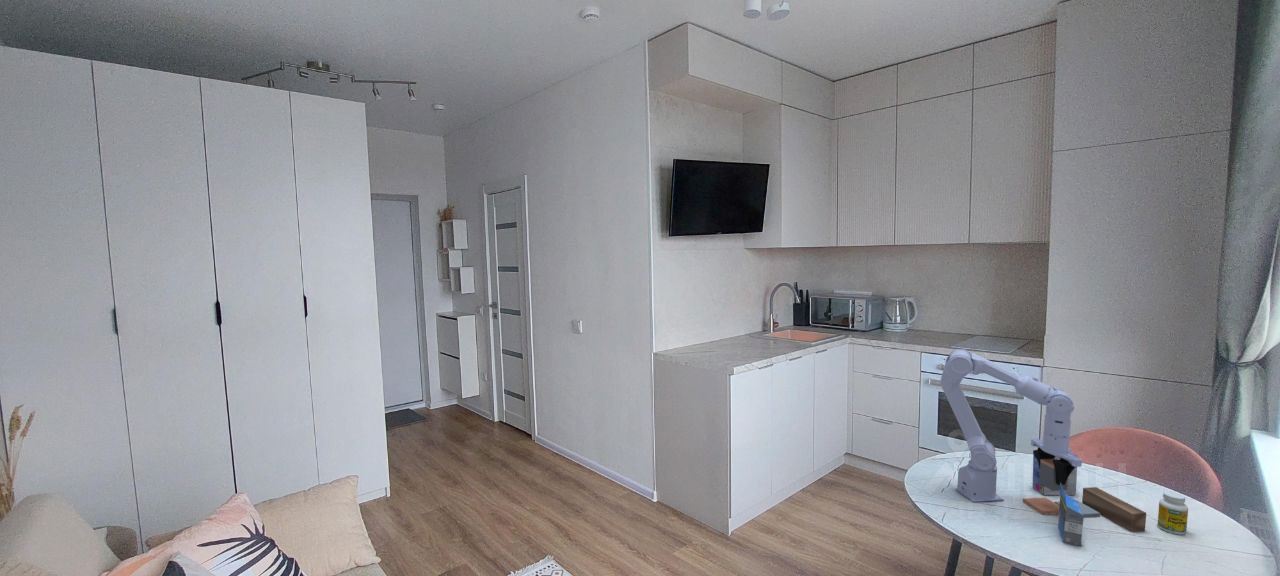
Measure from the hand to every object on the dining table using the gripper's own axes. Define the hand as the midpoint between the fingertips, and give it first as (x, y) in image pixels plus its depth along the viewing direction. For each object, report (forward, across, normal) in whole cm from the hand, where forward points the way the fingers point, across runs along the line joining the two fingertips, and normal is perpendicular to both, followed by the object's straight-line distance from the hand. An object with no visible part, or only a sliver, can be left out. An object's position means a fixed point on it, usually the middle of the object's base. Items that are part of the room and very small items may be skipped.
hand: (1053, 480), depth 146 cm
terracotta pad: (+9, +1, +1) cm, 9 cm away
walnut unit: (+9, -5, -13) cm, 17 cm away
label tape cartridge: (+9, -12, +6) cm, 17 cm away
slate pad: (+9, -1, -7) cm, 11 cm away
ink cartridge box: (+9, +10, -10) cm, 16 cm away
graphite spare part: (+2, 0, 0) cm, 2 cm away
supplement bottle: (+9, -12, -23) cm, 27 cm away
